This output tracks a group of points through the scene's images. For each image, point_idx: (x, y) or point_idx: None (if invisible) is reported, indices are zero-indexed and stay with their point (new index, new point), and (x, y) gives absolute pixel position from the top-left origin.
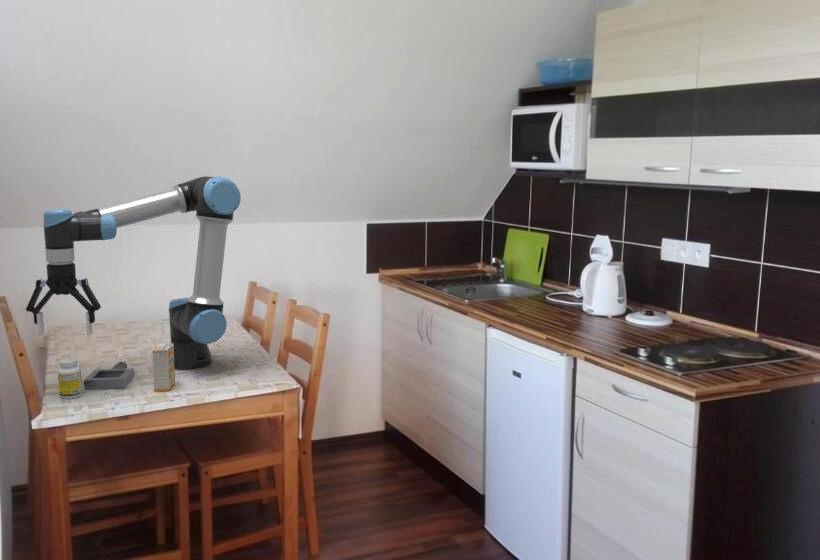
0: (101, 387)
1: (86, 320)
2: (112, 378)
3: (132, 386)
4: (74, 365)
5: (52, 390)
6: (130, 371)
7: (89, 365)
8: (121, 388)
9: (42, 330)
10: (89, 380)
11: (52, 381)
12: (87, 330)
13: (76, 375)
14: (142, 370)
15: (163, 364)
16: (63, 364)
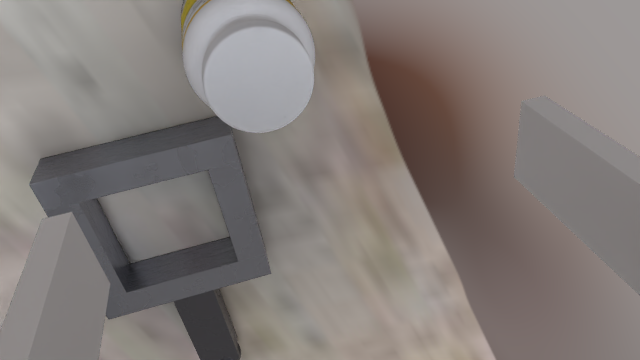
0: (149, 136)
1: (27, 344)
2: (101, 182)
3: (27, 191)
4: (204, 56)
5: (363, 87)
6: None
7: (362, 351)
8: (57, 155)
9: (541, 161)
10: (203, 140)
11: (413, 189)
12: (54, 246)
13: (185, 25)
14: (139, 357)
15: None
16: (266, 23)
